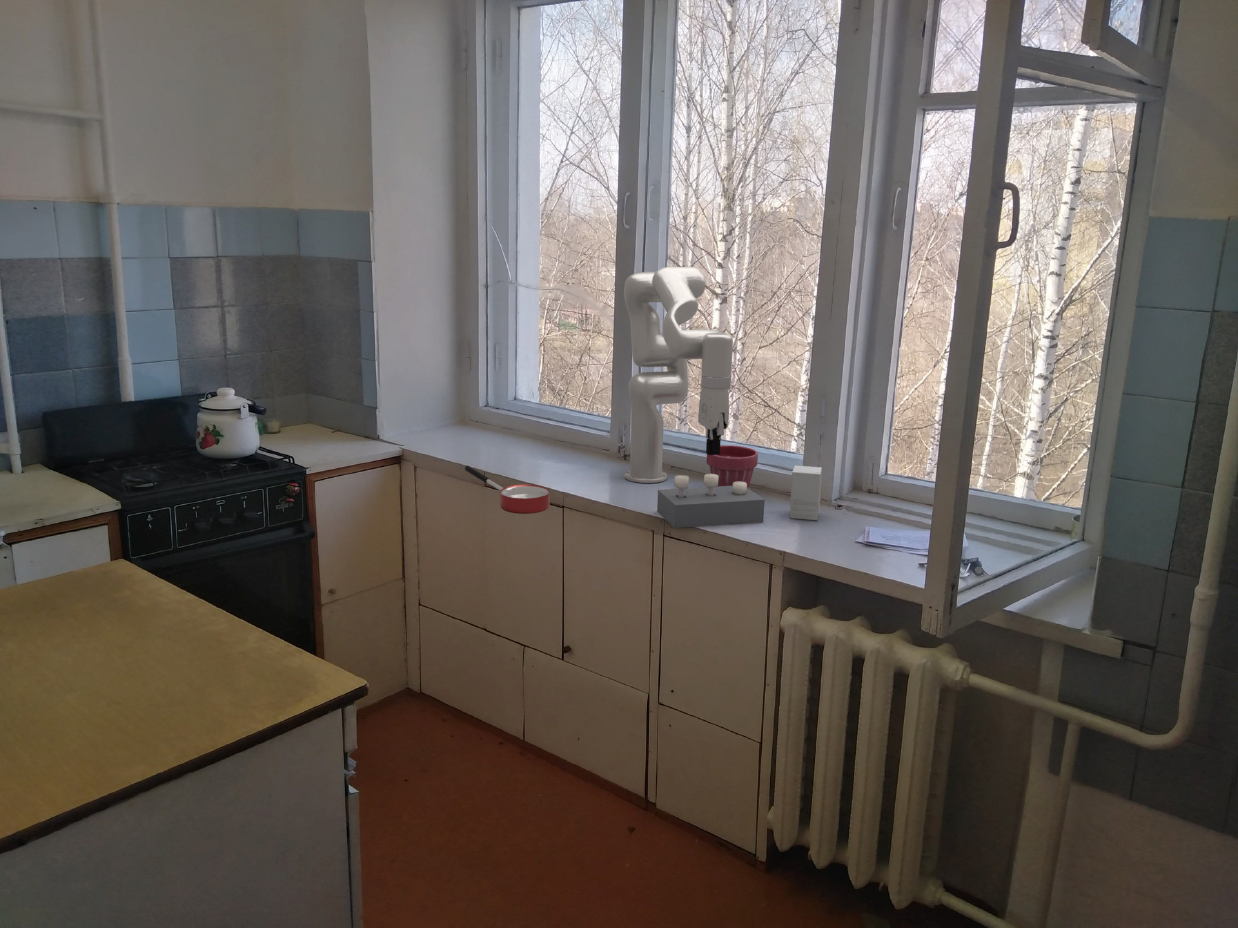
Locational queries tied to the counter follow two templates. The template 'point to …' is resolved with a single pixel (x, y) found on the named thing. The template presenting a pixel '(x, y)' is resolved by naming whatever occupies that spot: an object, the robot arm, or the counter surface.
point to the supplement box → (805, 492)
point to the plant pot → (733, 464)
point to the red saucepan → (518, 496)
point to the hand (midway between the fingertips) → (712, 454)
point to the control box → (709, 507)
